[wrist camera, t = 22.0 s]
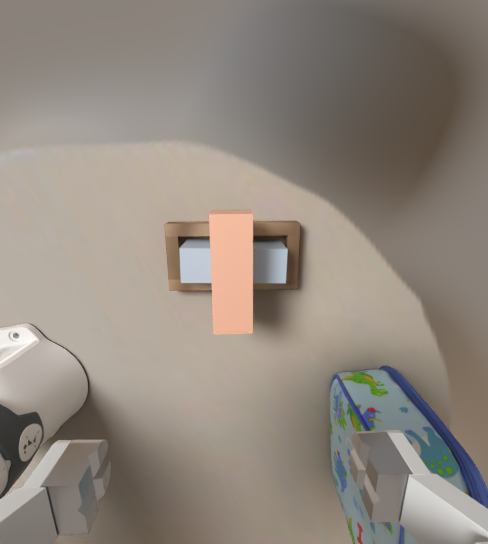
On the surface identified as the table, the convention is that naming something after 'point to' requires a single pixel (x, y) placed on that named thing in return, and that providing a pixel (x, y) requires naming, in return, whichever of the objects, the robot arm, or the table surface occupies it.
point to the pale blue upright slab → (265, 261)
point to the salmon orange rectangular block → (232, 271)
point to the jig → (261, 231)
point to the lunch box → (391, 416)
